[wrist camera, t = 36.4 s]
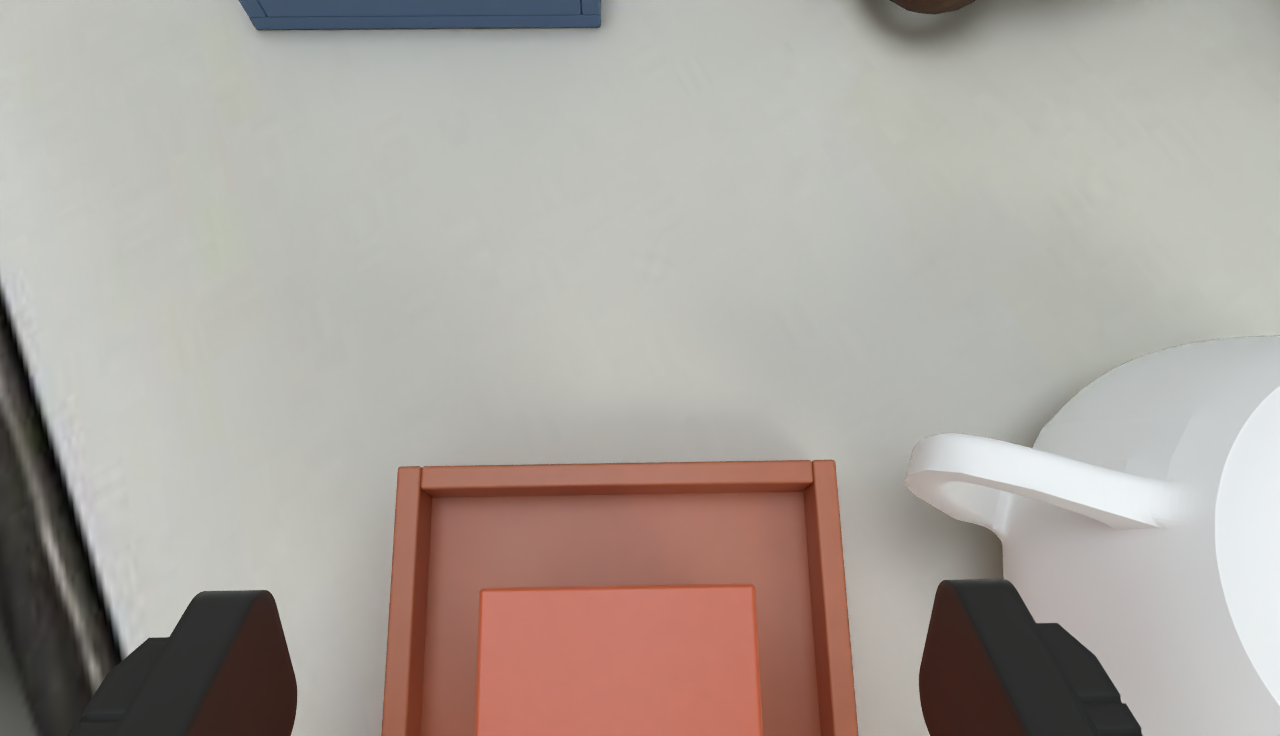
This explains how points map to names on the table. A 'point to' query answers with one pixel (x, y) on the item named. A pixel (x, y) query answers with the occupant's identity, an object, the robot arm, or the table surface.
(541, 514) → the terracotta tray
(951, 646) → the robot arm
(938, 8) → the dish
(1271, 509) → the teapot
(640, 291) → the table surface
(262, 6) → the blue tray
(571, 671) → the terracotta block
